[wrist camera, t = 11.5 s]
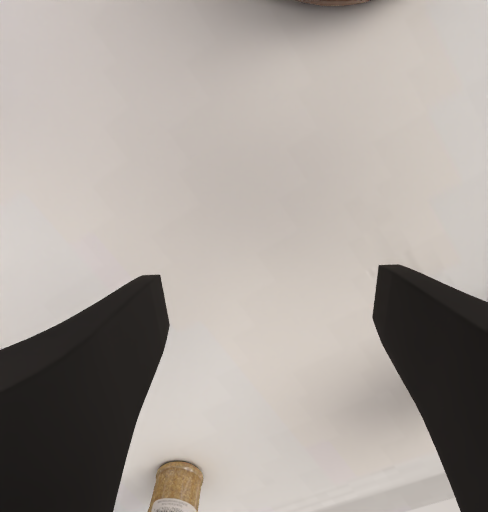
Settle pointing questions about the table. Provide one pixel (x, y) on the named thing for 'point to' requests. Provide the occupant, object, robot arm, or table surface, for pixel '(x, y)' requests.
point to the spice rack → (333, 2)
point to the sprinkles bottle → (176, 488)
